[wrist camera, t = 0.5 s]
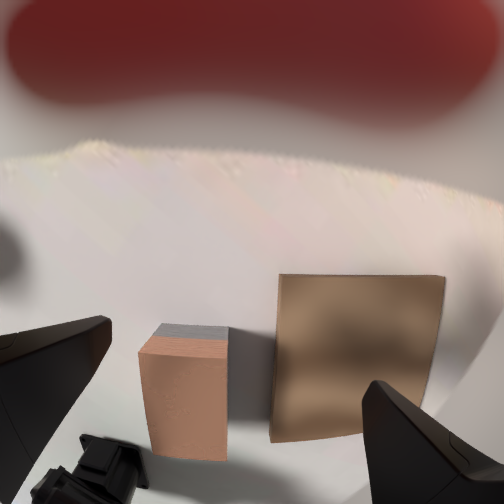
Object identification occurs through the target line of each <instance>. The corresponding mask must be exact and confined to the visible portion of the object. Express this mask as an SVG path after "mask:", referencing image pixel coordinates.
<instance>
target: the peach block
mask: <svg viewBox="0 0 504 504" xmlns="http://www.w3.org/2000/svg"><path fill="white" fill-rule="evenodd" d="M228 336H229V327H223V326H199V325H180V324H165V323H162V324H161V325H160V326H159V327H158V329H157V330H156V331H155V332H154V333H153V335H152V336H151V337H150V338H149V340H148V341H147V342H146V343H145V344H144V346H143V347H142V348H141V349H140V351H139V352H138V357H139V367H140V376H141V384H142V392H143V399H144V406H145V413H146V419H147V425H148V430H149V436H150V441H151V446H152V451H153V455H160V456H167V457H175V458H185V459H196V460H211V461H227V437H228Z"/></svg>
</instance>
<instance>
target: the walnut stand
mask: <svg viewBox="0 0 504 504" xmlns="http://www.w3.org/2000/svg"><path fill="white" fill-rule="evenodd" d="M444 282H445V277H442V276H437V275H305V274H279V286H278V306H277V325H276V342H275V358H274V373H273V387H272V400H271V413H270V425H269V436H270V441H271V443H283V442H297V441H308V440H318V439H326V438H334V437H341V436H347V435H353V434H359V433H363V421H362V404H361V403H362V398H363V396H364V394H365V392H366V390H367V389H368V387H369V385H370V383H371V382H372V381H373V380H383V381H385V382H386V383H388V384H389V385H390V386H391V387H393V388H394V389H395V390H397V391H398V392H399V393H400V394H402V395H403V396H404V397H406V398H407V399H408V400H410V401H411V402H412V403H414V404H415V405H416V406H417V407H419V406H420V403H421V400H422V397H423V393H424V389H425V386H426V382H427V378H428V374H429V370H430V366H431V362H432V357H433V353H434V348H435V343H436V338H437V333H438V327H439V321H440V314H441V307H442V300H443V291H444Z"/></svg>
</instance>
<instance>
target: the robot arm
mask: <svg viewBox="0 0 504 504" xmlns="http://www.w3.org/2000/svg"><path fill="white" fill-rule="evenodd" d="M111 342H112V321H111V319H110V318H107V317H105V316H102V315H99V316H94V317H90V318H85V319H80V320H76V321H71V322H66V323H62V324H57V325H52V326H47V327H42V328H37V329H32V330H27V331H22V332H19V333H12V334H7V335H1V336H0V503H2V504H11V503H12V501H13V500H14V498H15V496H16V494H17V493H18V491H19V489H20V487H21V486H22V484H23V482H24V481H25V479H26V477H27V476H28V474H29V472H30V471H31V469H32V467H33V466H34V464H35V462H36V461H37V459H38V457H39V456H40V454H41V453H42V451H43V450H44V448H45V446H46V445H47V443H48V442H49V440H50V439H51V437H52V436H53V434H54V433H55V431H56V430H57V428H58V427H59V425H60V424H61V422H62V421H63V419H64V418H65V416H66V415H67V413H68V412H69V410H70V409H71V407H72V406H73V404H74V403H75V402H76V400H77V399H78V397H79V396H80V394H81V393H82V392H83V390H84V389H85V387H86V386H87V385H88V383H89V382H90V380H91V379H92V377H93V376H94V374H95V372H96V370H97V369H98V367H99V365H100V363H101V361H102V359H103V358H104V356H105V354H106V352H107V351H108V349H109V347H110V345H111ZM361 404H362V421H363V438H364V445H365V452H366V458H367V465H368V472H369V480H370V487H371V496H372V504H504V465H503V464H500V463H498V462H497V461H495V460H493V459H491V458H490V457H488V456H486V455H485V454H483V453H481V452H480V451H478V450H477V449H475V448H473V447H472V446H470V445H469V444H467V443H466V442H464V441H463V440H462V439H460V438H459V437H457V436H456V435H455V434H453V433H452V432H451V431H449V430H448V429H446V428H445V427H444V426H442V425H441V424H440V423H439V422H437V421H436V420H434V419H433V418H432V417H431V416H429V415H428V414H427V413H425V412H424V411H423V410H421V409H420V408H419V407H417V406H416V405H415V404H414V403H412V402H411V401H410V400H408V399H407V398H406V397H404V396H403V395H402V394H400V393H399V392H398V391H397V390H395V389H394V388H393V387H391V386H390V385H389V384H388V383H386V382H385V381H383V380H373V381H372V382H371V383H370V385H369V387H368V389H367V390H366V392H365V394H364V396H363V398H362V403H361ZM79 439H80V442H81V445H82V448H83V450H84V453H83V455H82V456H81V458H80V459H79V461H78V464H77V466H76V468H75V469H74V471H73V472H72V474H71V473H69V472H68V471H67V470H65V468H64V467H62V466H61V465H60V466H59V468H58V469H51V468H50V469H49V471H48V472H47V474H46V475H45V476H44V477H43V479H42V480H41V481H40V482H39V483H38V484H37V485H36V486H34V487H33V488H32V490H31V492H30V494H31V497H32V504H131V501H132V498H133V495H134V492H135V489H136V487H137V488H142V489H148V488H149V482H148V479H147V475H146V471H145V467H144V464H143V460H142V456H141V451H140V449H139V448H138V447H136V446H132V445H127V444H122V443H117V442H112V441H108V440H104V439H100V438H96V437H92V436H88V435H84V434H82V435H81V436H80V437H79ZM134 450H135V451H134Z"/></svg>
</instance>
